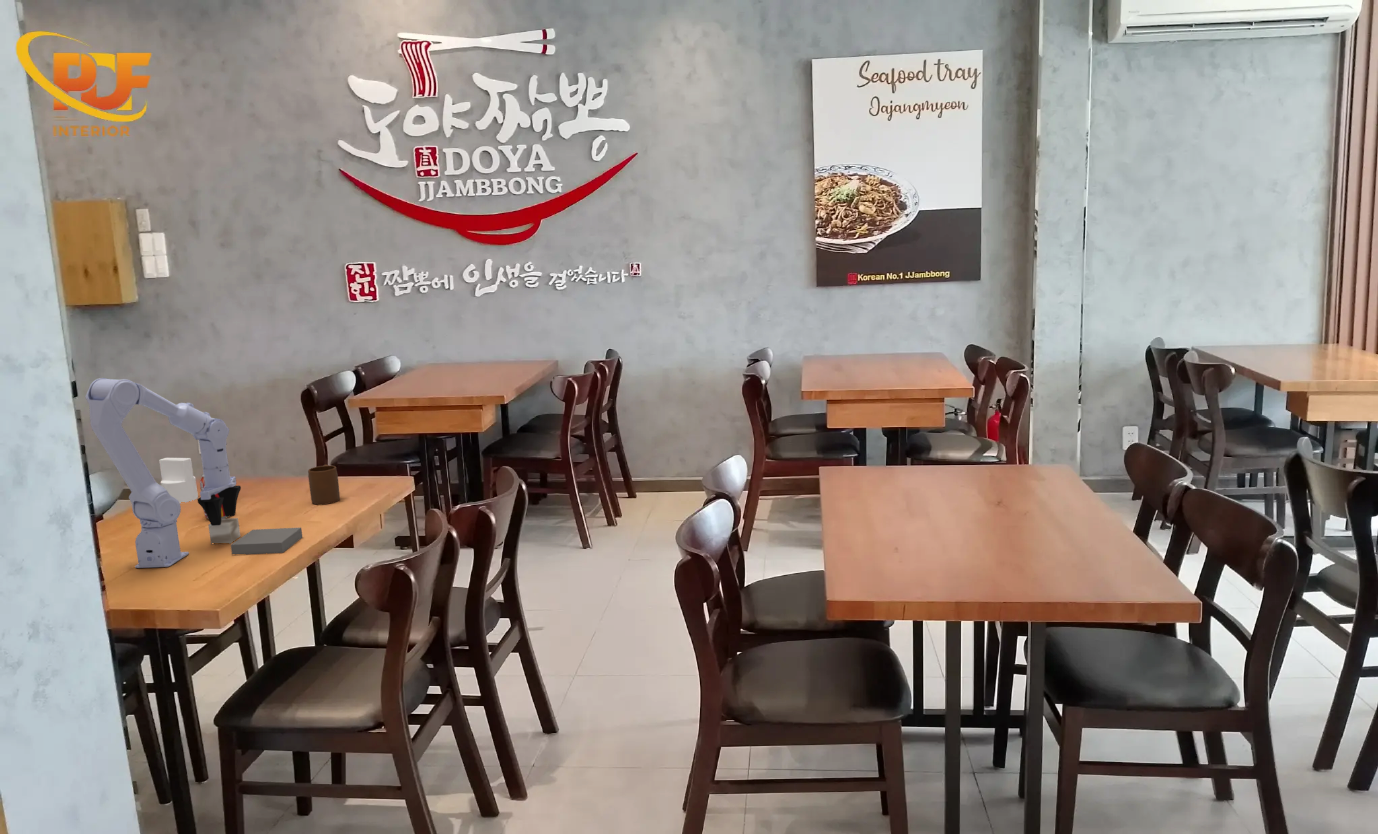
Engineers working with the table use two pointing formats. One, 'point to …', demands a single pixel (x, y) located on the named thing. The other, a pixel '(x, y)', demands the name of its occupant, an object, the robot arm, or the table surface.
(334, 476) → the mug
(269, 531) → the charcoal block
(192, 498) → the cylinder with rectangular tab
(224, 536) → the gray block
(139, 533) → the robot arm
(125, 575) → the table surface
